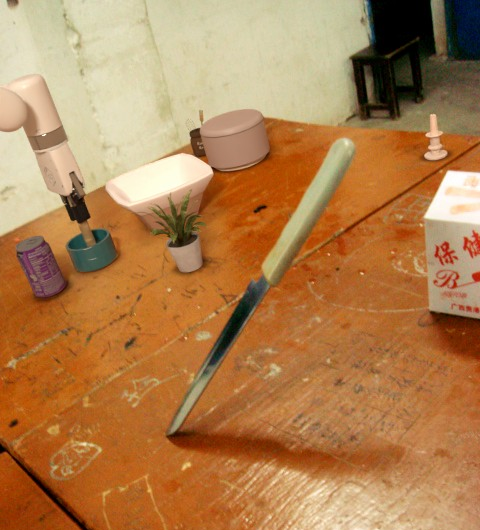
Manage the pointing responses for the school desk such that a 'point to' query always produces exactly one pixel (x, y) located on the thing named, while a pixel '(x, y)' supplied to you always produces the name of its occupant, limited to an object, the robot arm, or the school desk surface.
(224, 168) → the container
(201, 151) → the utensil holder
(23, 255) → the beverage can
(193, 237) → the house plant
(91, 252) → the mixing bowl
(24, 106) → the robot arm
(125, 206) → the bowl
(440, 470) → the school desk surface
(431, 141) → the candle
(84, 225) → the muddler
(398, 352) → the school desk surface
